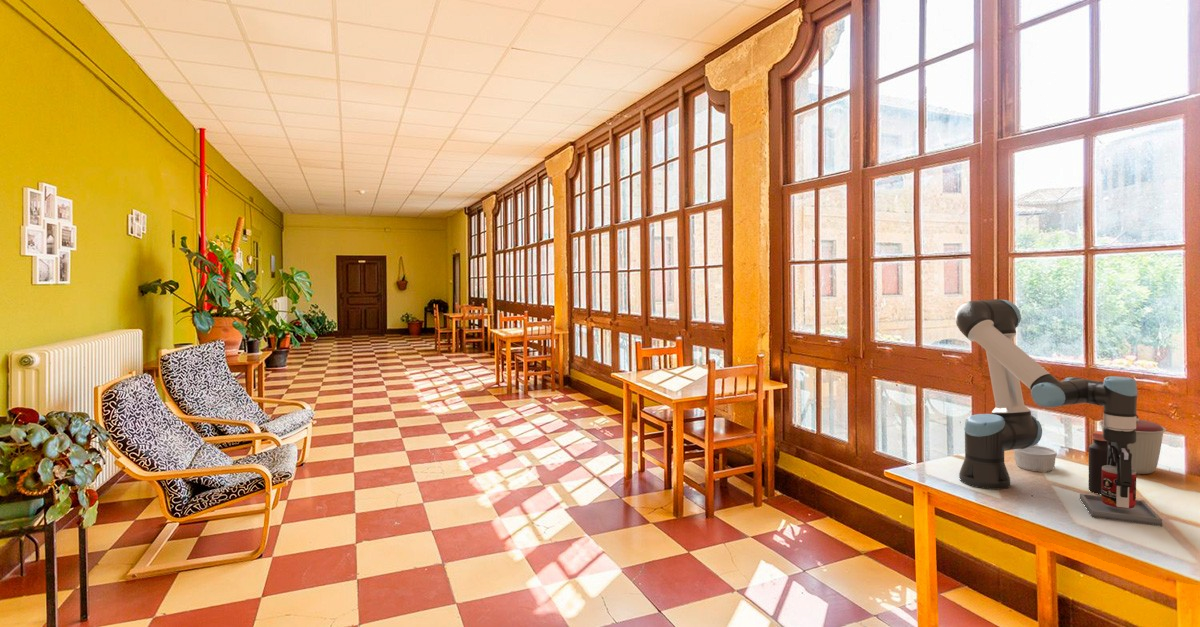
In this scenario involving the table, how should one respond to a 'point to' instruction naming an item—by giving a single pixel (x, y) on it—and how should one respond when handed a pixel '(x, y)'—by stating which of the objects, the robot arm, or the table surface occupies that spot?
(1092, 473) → the bottle
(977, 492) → the table surface
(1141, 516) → the tray
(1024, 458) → the ramekin
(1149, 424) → the canister
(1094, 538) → the table surface
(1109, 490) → the canned food
